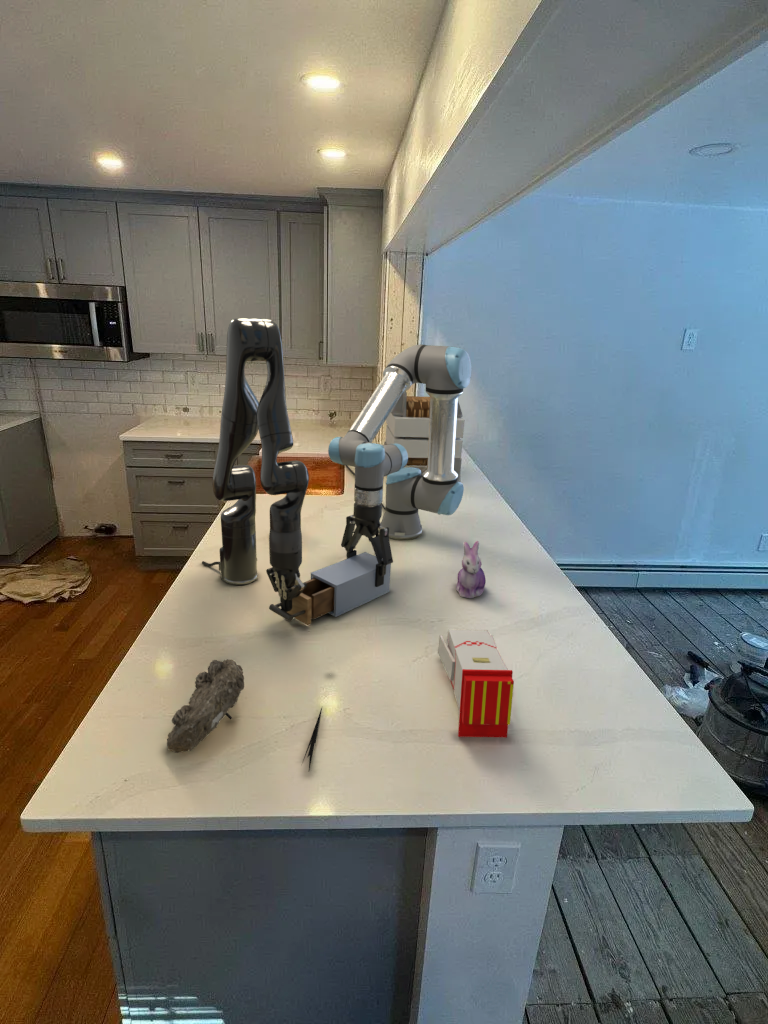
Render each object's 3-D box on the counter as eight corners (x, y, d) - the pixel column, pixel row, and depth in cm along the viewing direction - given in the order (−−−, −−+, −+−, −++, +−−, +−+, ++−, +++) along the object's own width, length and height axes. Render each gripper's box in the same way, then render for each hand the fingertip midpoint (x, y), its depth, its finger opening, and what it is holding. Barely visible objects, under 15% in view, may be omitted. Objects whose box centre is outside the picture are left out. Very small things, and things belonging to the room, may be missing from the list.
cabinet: (335, 617, 144) (336, 585, 141) (310, 603, 150) (310, 572, 147) (389, 591, 159) (391, 562, 156) (364, 580, 165) (365, 551, 162)
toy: (488, 613, 130) (523, 677, 101) (484, 667, 133) (517, 744, 104) (435, 612, 130) (455, 676, 101) (432, 666, 133) (451, 743, 103)
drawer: (290, 633, 134) (290, 607, 132) (267, 619, 140) (267, 594, 137) (363, 599, 152) (364, 575, 149) (340, 588, 157) (341, 565, 155)
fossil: (192, 660, 117) (244, 628, 112) (224, 691, 120) (276, 661, 115) (142, 746, 98) (202, 712, 93) (182, 779, 101) (242, 748, 96)
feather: (331, 679, 122) (336, 673, 122) (307, 777, 96) (313, 769, 95) (324, 675, 122) (329, 669, 121) (298, 772, 95) (304, 764, 95)
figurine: (467, 602, 155) (472, 552, 149) (446, 586, 163) (450, 538, 158) (494, 596, 159) (500, 546, 154) (473, 580, 167) (478, 533, 162)
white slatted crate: (382, 463, 289) (386, 382, 275) (445, 464, 293) (451, 384, 279) (390, 482, 257) (394, 392, 243) (460, 483, 261) (468, 394, 247)
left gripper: (255, 540, 133) (257, 605, 139) (291, 559, 125) (291, 626, 131) (280, 532, 138) (281, 595, 145) (316, 549, 130) (316, 615, 136)
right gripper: (328, 495, 154) (327, 569, 161) (390, 517, 140) (386, 597, 147) (348, 490, 159) (346, 562, 167) (409, 510, 145) (404, 588, 153)
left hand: (286, 610), depth 138 cm, fingers closed
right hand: (365, 578), depth 157 cm, fingers closed on cabinet, 10 cm apart
